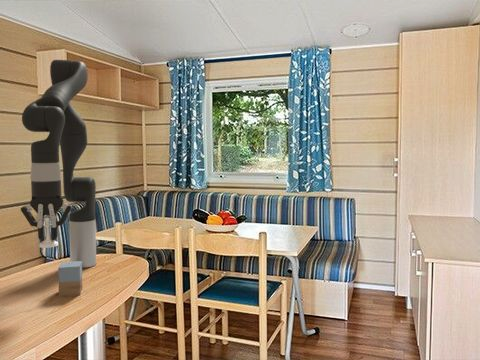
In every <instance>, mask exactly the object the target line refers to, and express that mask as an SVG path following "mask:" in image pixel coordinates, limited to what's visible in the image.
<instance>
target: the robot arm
mask: <svg viewBox="0 0 480 360" xmlns="http://www.w3.org/2000/svg"><path fill="white" fill-rule="evenodd" d="M49 67H50V68H49V74H50V80H51V85H50V86H49V87H48V88H47V89H46V90H45V91H44V93H43V94H42V96H41V97H40V98H38V99H36V100H35V101H32V102H31V103H29V104H28V105H27V106H25V108H24V110H23V112H22V116H21V123H22V126H23V127H24V128H25V129H26V130H28V131H29V132H34V133H48V135H47V137H46V138H45V139H41V140H36V141H33V142H32V143H31V145H30V156H31V157H30V158H31V161H30V162H31V164H30V165H31V166H30V183H31V184H30V185H31V191H30V193H31V199H30V202H29V203H27V204H25V205H23V206H22V207H21V208H20V211H21V213H22V214H23V216H24V218H25V219H26V220H27V222H28V224H29V225H30V226H31V227H35V228H37V231H38V232H37V233H38V234H37V236H38V237H37V238H38V240H40V241H41V242H44V240H45V236H46V227H44V225H45V221H44V219H43V218H44V217H46V215H48V216H49V217H50V219H51V220H50V225H52V226H51V227H50V233H51V238H52V241H56V240H57V239H58V237H59V232H58V231H59V228H58V227H59V226H63V225H64V223H65V222H66V219H67V218H68V222H69V223H68V224H69V225H68V226H69V231H68V232H69V262H74V261H82V269H85V268H90V267H94V266H96V264H97V232H96V230H97V229H96V189H97V187H96V182H95V179H94V177H92V176H91V177H89V176H74V170H75V167H76V165H77V163H78V161H79V159H81V156H82V155H83V153H84V152H85V150H86V148H87V146H88V131H87V125H86V123H85V121H84V120H83V117H82V116H81V115H80V114H79V113H78V112H77V110H76V109H75V108H74V106H72V104H71V100H72V99H74V98H75V97H76V96H77V95H78V94H79V93H80V92H81V91H82V90H83V89H84V88H85V87H86V85H87V84H88V79H89V77H88V68H87V66H86V64H85V62H83V61H81V60H76V59H75V60H73V59H69V60H68V59H54V60H52V61H51V62H50V66H49ZM60 154H61V163H62V169H61V166H60ZM61 170H62V174H61ZM62 180H63V181H62ZM62 184H63V187H62ZM62 188H63V195H64V198H65V200H66V202H68V203H85V204H84V206H83V207H81V208H79V209H76V210H73V211H71V210H72V209H73V205H72V204H68V203H66V202H64V199H63V197H62ZM61 208H62V211H63V213H62V214H61V215H62V216H61V217H60V219H59V220H58V212H59V210H60V209H61ZM32 209H33V211H35V213H36V214H37V220H36V219H35V217H34V215H33V213H32Z"/></svg>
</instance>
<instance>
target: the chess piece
mask: <svg viewBox="0 0 480 360" xmlns="http://www.w3.org/2000/svg"><path fill="white" fill-rule="evenodd" d="M43 219H44V227H45V240H44V241H41V242H39V246H38V247H39V248H40V249H41V248H42V249H47V248H54V247H57V246H58V245H59V242H58V241H57V240H55V241H52V238H51V228H52V224H51V219H50V215H45V217H44V218H43Z"/></svg>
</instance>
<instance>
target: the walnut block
mask: <svg viewBox="0 0 480 360" xmlns="http://www.w3.org/2000/svg"><path fill="white" fill-rule="evenodd" d="M82 290H83V276H82V277H81V280H80V281H72V282H59V281H58V297H60V298H61V297H71V296H81V294H82Z"/></svg>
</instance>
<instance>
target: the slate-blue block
mask: <svg viewBox="0 0 480 360" xmlns="http://www.w3.org/2000/svg"><path fill="white" fill-rule="evenodd" d="M57 268H58V272H57V273H58V282H72V281H80V280H81V277H82V278H83V268H82V261H74V262H70V261H62V262H60V264H59V266H58V267H57Z"/></svg>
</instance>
